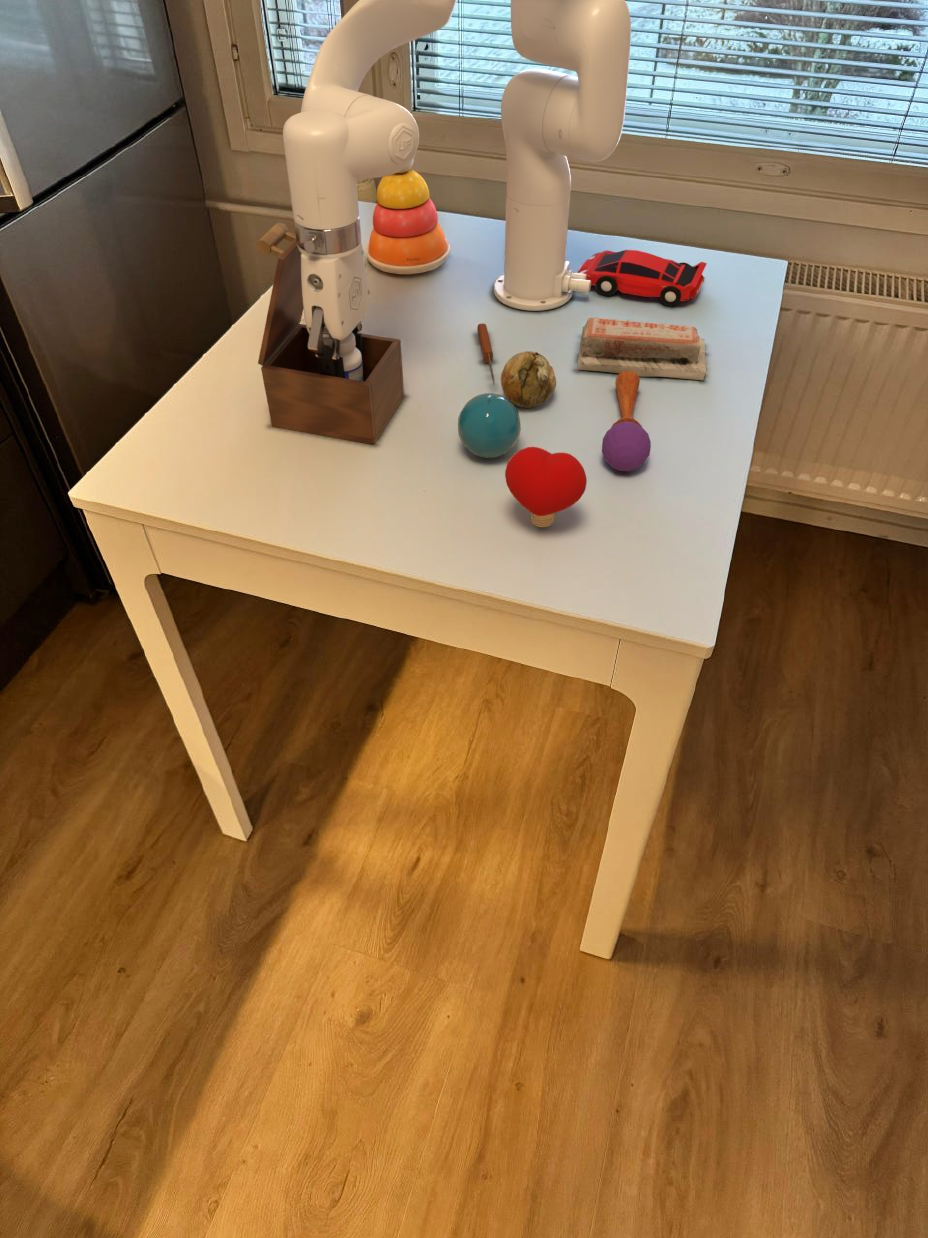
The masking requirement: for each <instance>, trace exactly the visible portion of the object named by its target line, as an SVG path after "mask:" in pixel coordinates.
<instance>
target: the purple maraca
mask: <svg viewBox="0 0 928 1238" xmlns="http://www.w3.org/2000/svg"><path fill="white" fill-rule="evenodd" d="M640 382H641V379H640V376H638V375H637V374H636V373H635V372H633V371H624V372H621V373H618V374H617V376H616V378H615V389H616V394H617V399H618V404H619V409H620V414H621V418H620V419H617V420H616V421H615V422H614V423H613V424H612V425H611V427H610V428H609V429H608V430H607V431H606V432H605V434H604V436H603V437H602V444H601V454H602V456H603V459H604V461H606V462H607V463H608V465H609V466H610V467H611V468H612V469H614V470H617V471H619V472H631V471H635V470H637V469H638V468H640V467H641V466H643V464H645V463H646V461H647V459H648V458H649V456H650V453H651V449H652V444H651V443H652V442H651V438H650V435H649V433H648V432H647V431H646V430H645V428H643V426H642V424H641V423H640V422H639V421H637V420H636V419H635V418H633V413H634V409H635V404H636V400H637V396H638V391H639V387H640Z"/></svg>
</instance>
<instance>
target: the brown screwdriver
mask: <svg viewBox="0 0 928 1238" xmlns="http://www.w3.org/2000/svg"><path fill="white" fill-rule="evenodd" d="M488 331H489V330H488V327H487V324H486V323H479V324H477V335H478V340H479V344H480V349H481V353H482V357H483V362H484V363H485V364H488V366H489V371H490V374H491V379H492V383H493V384H495V376H494V370H493V366H492V365H493V364H492V362H493V359H494V353H493V348H492V344H491V339H490V335H489V332H488Z"/></svg>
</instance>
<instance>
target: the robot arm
mask: <svg viewBox="0 0 928 1238" xmlns="http://www.w3.org/2000/svg"><path fill="white" fill-rule="evenodd" d="M457 1H458V0H358V1H357V2H356V3H355V4H353V6H351V8H350V9H349V10H348V11H347V12H346V13H345V14H344V15H343V16H342V18H341V19H340V20H339V21H338V22H337V23H336V24H335V26H334V27H333V28H332V29H331V30H330V31H329V33H328V35H326V38H325V39H324V40H323V42H322V44H321V46H320V47H319V50H318V52H317V55H316V57H315V59H314V62H313V66H312V69H311V72H310V74H309V77H308V80H307V84H306V87H305V90H304V94H303V97H302V102H301V107H300V112H298V113H295V114H293V115H291V116H290V117H288V118H287V120H286V121H285V122H284V125H283V129H282V140H283V141H282V142H283V148H284V155H285V164H286V171H287V178H288V179H287V180H288V188H289V195H290V202H291V211H292V217H293V225H294V233H295V235H296V241H297V248H298V250H299V252H301V253H302V254H301V283H302V298H303V308H304V309H303V314H304V322H305V325H306V327H307V330H308V332H309V334H310V335H309V341H308V349H309V350H311V351H313V352H314V353H315V355H316V357H317V358H318V364H319V372H320V374H321V375H327V376H333V377H339V378H345V375H344V365H343V357H339V355H340V340H343V339H345V338H346V337H347V336H348V335H349V334H350V333H351V332H352V333H353V334H354V336H355V342H356V346H355V347H356V348H357V349H358V350H359V351H360V352H361V355H362V361H363V347H362V335H361V332H362V331H363V322H362V320H363V318H364V317H365V316H366V314H368V312H369V310H370V307H371V295H370V285H369V276H368V270H367V269H368V268H367V263H366V255H365V251H364V246H363V242H362V232H361V219H360V208H359V207H360V206H359V196H358V195H359V194H358V183H359V182H361V181H364V180H370V179H371V180H372V179H376V178H377V179H378V178H383V177H384V176H389V175H392V174H395V173H397V172H399V171H401V170H402V169H404V168H405V167H406V166H407V165H408V164H409V163H410V162H411V161H412V159H413V158H414V159H415V156H416V154H417V152H418V149H419V145H420V130H419V125H418V123H417V121H416V118H415V117H414V116H413V114H412V113H411V112H410V111H409V110H408V109H407V108H406V107H404V106H402V105H401V104H398V103H397V102H394V101H391V100H387V99H385V98H381V97H377V96H374V95H372V94H369V93H364V92H362V91H361V92H360V91H359V89H360V87H361V85H362V82H363V80H364V79H365V77H366V75H367V73H368V72H369V71H370V69H371V68H372V67H373V66H374V65H375V64H376V63H377V62H378V61H379V60H380V59H382V57H383V56H385V55H386V54H388V53H389V52H391V51H392V50H394V49H396V48H399V47H400V46H403V45H406V44H408V43H410V42H413V41H415V40H417V39H420V38H423V37H425V36H427V35H431V34H433V33H435V32H437V31H439V30H441V29H443V28H445V26H446V25H447V24H448V23H449V22H450V21H451V19H452V16H453V14H454V10H455V7H456V5H457V3H458V2H457ZM510 29H511V39H512V44H513V47H514V49H515V51H516V53H517V54H518V55H519V56H521V57H522V58H524V59H526V60H528V61H530V62H534V63H537V64H541V65H545V66H549V67H553V68H558V69H562V70H567V71H572V72H575V73H576V75H577V76H575V75H572V74H568V73H564V72H560V71H555V70H550V69H546V68H545V69H544V68H527V69H524V70H521V71H519V72H517V73H515V74H514V75H513V76H512V77H511V78H510V79H509V81H507V84H506V86H505V88H504V90H503V93H502V97H501V102H500V118H501V120H500V121H501V127H502V134H503V138H504V146H505V147H504V148H505V159H506V161H505V162H506V185H505V187H506V190H505V225H504V258H503V259H504V260H503V262H504V263H503V274H501V275H500V276H498V278H497V279H496V280H495V282H493V283H494V284H493V294H494V296H495V298H496V299H497V300H498V301H499V302H500V303H502V304H503V305H505V306H508V307H510V308H512V309H516V310H522V311H529V312H536V311H538V312H540V311H548V310H553V309H555V308H559V307H561V306H563V305H565V304H567V302H569V301H570V299H572V297H573V294H574V293H573V292H577V293H583V294H590V292H591V287H592V285H591V280H586V274H581V273H578V272H573V270H570V263H571V262H570V261H568V260H566V258H567V257H566V255H567V245H568V244H567V242H568V231H569V230H568V229H569V217H570V206H571V205H570V203H571V193H572V175H571V169H570V165H569V161H568V158H571V159H575V160H577V161H581V162H587V163H598V162H602V161H605V160H606V159H609V157H610V156H611V155H612V154H613V153H614V151H615V150H616V149H617V147H618V144H619V142H620V140H621V137H622V133H623V128H624V123H625V117H626V106H627V96H628V95H627V92H628V83H629V81H628V80H629V68H630V67H629V66H630V56H631V44H632V43H631V42H632V19H631V14H630V9H629V6H628V4H627V2H626V0H510ZM324 328H327V329H328V331H329V332H326V331H324ZM324 338H326V339H332V348H331V347H330V346H328V345H325V344H324V343H323V339H324Z"/></svg>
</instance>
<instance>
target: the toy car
mask: <svg viewBox="0 0 928 1238" xmlns="http://www.w3.org/2000/svg"><path fill="white" fill-rule="evenodd" d="M707 265H708V263H707V262H704V261H700V262H698V263H697V264H694V265H691V264H689V263H688V262H678V261H675V260H672V259H668V258H664V257H661V256H659V255H655V254H653V253H649V252H646V251H642V250H636V249H624V250H620V251H613V250H612V251H611V250H604V251H601V252H596V253H595V254H593V255H592V256H591V257H589V258H588V259H586V260H585V261H584V262H582V263H581V265H580V266H579V268H578V270H577V273H581V274H586V280H591V286H595V289H596V291H597V292H598V293H599V294H600V295H602V296H604V297H610V296H611V297H612V296H613V295H614V294H616V293H617V291H619V292H620V293H622V294H628V295H634V296H638V297H645V298H646V297H649V298H659V300H660V302H661V303H662V304H663V305H664V306H666V307H670V308H671V307H675V306H678V305H679V304H680V303H681V302H685V301H689V300H690V299H694V298H696V297H697V296H698V294H699V293H700V291H701V289H702V287H703V283H704V282H705V280H706V279H705V278H706V277H705V276H704V275H703V273H704V271H705V268H706V266H707Z"/></svg>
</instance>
